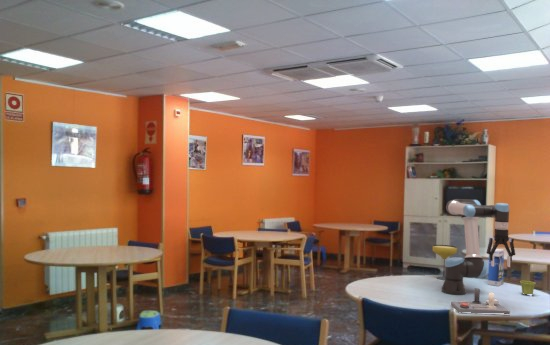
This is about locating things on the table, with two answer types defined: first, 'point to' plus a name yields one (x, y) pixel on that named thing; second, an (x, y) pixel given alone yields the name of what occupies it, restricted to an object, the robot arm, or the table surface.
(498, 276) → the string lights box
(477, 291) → the black lever
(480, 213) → the robot arm
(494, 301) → the rocker
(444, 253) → the cocktail glass
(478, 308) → the panel
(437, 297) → the table surface
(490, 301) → the cream tapered knob
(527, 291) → the plant pot
